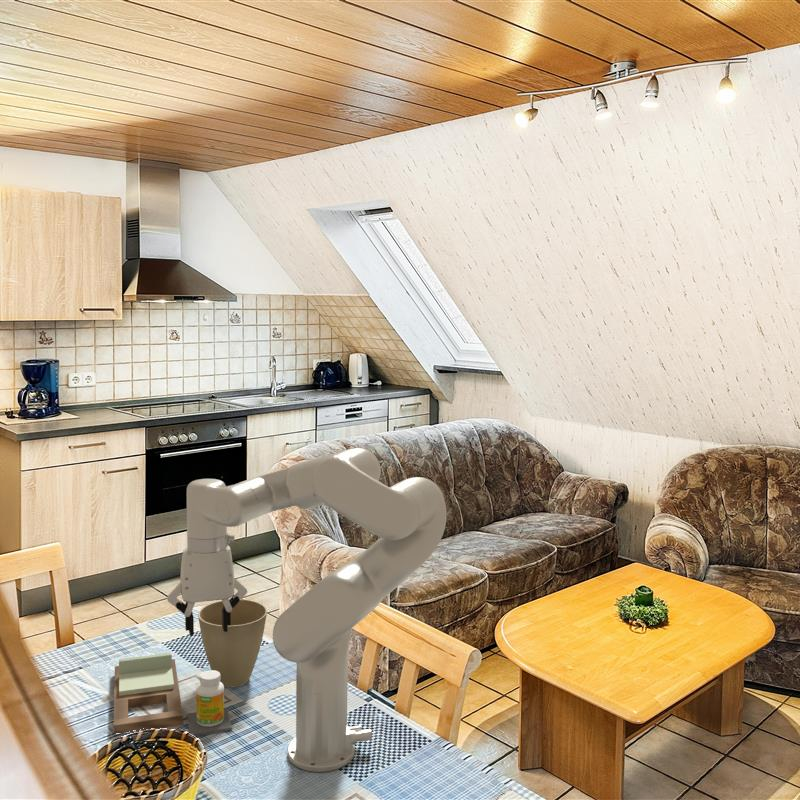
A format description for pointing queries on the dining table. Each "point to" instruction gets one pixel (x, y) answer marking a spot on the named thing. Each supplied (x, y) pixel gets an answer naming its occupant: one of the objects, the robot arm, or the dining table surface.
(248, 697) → the dining table surface
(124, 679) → the slide cover
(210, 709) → the supplement bottle
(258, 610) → the plant pot
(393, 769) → the dining table surface
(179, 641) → the dining table surface
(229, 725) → the pad
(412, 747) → the dining table surface
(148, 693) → the well board
